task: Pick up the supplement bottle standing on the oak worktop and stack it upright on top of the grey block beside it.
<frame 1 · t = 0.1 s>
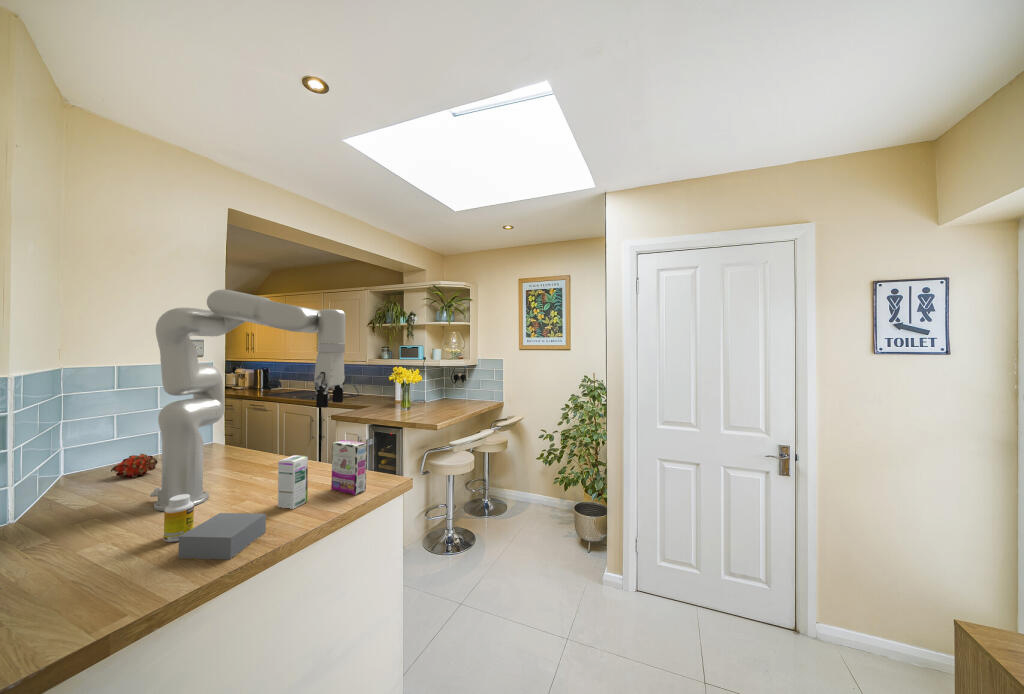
hand: (330, 404, 113), 31 cm above the counter, tool pointing down, fingers open, 9 cm apart
syrup box: (292, 505, 113), on the counter
candy bar box: (348, 491, 125), on the counter
supplement bottle: (178, 538, 93), on the counter
base block: (224, 544, 90), on the counter
dragon fruit: (134, 476, 134), on the counter
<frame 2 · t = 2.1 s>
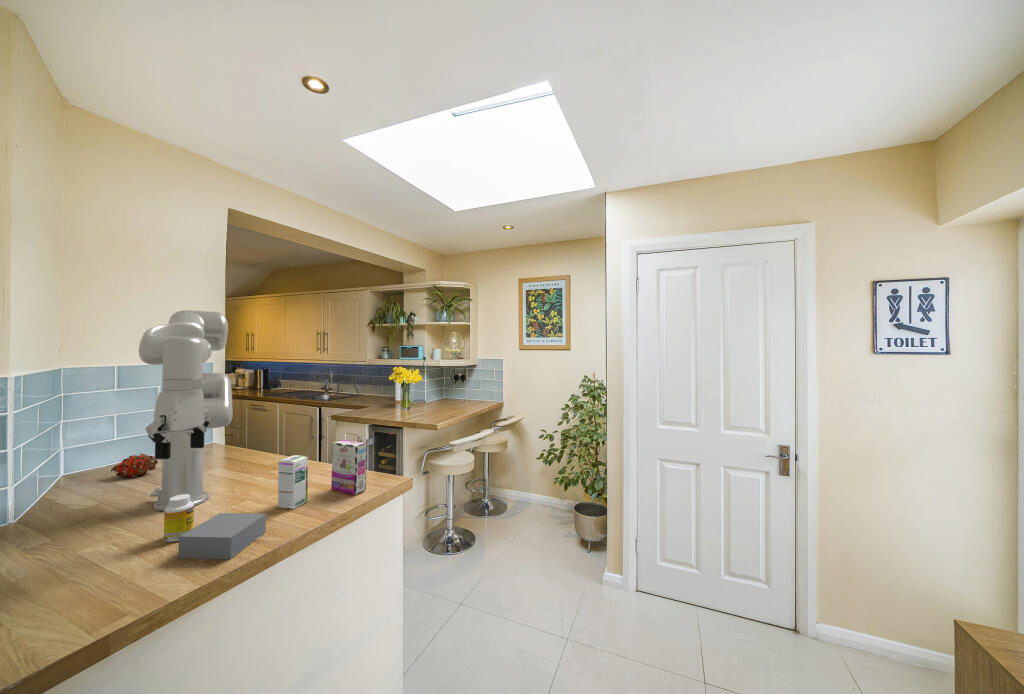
hand: (180, 453, 93), 21 cm above the counter, tool pointing down, fingers open, 9 cm apart
nothing on the counter moved.
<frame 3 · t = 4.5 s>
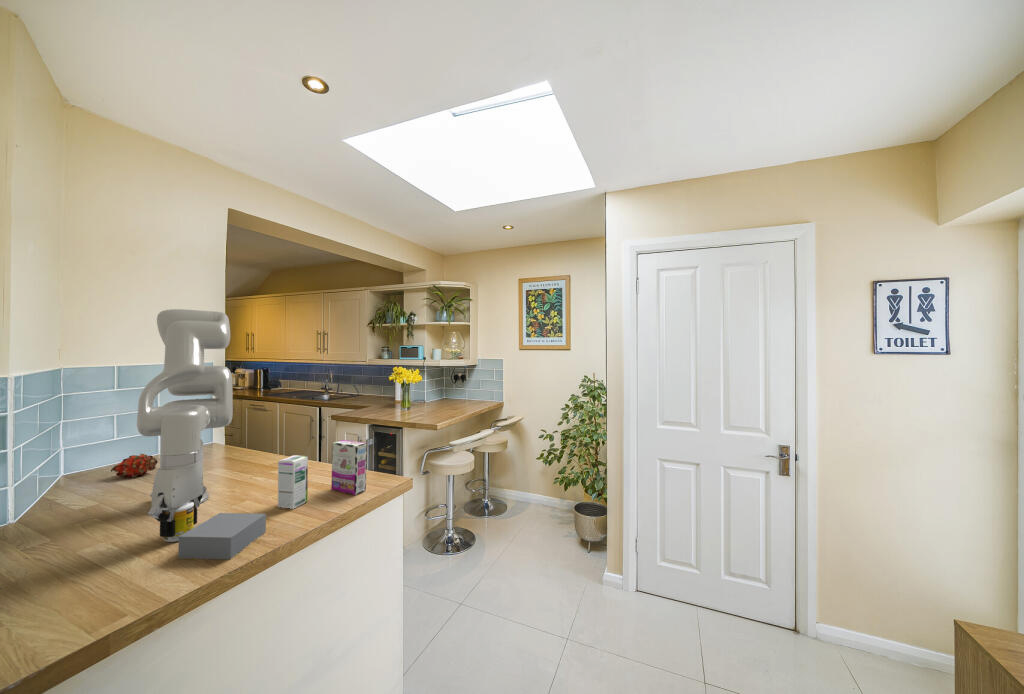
hand: (179, 529, 93), 2 cm above the counter, tool pointing down, fingers closed on supplement bottle, 5 cm apart
supplement bottle: (178, 538, 93), on the counter, touching gripper
everything else where it was.
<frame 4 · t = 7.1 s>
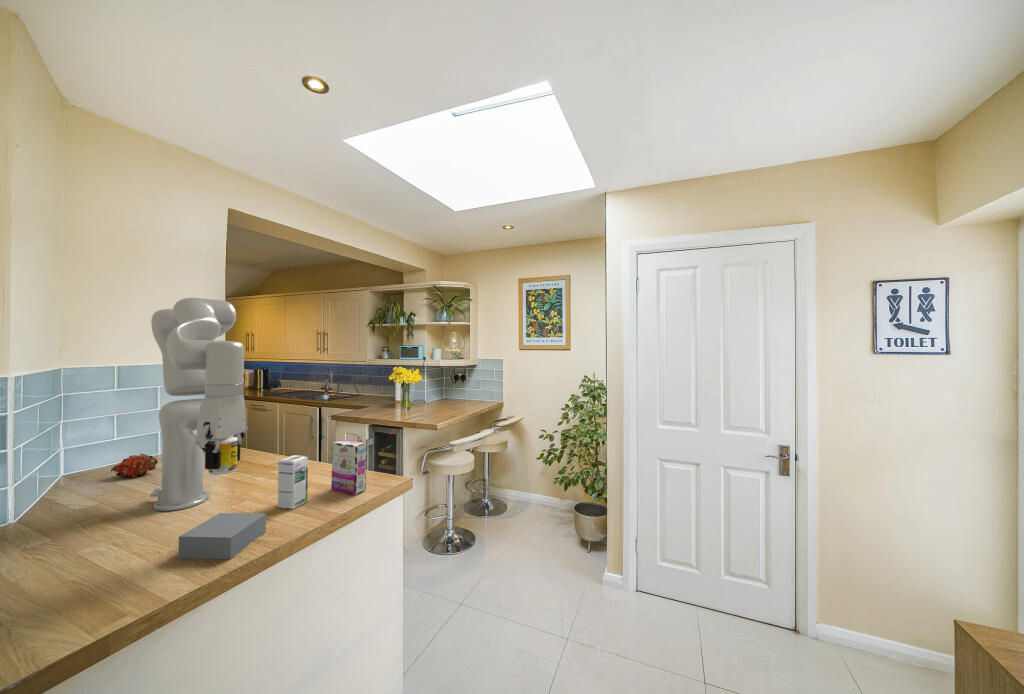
hand: (223, 463, 90), 20 cm above the counter, tool pointing down, fingers closed on supplement bottle, 5 cm apart
supplement bottle: (223, 472, 90), point 18 cm above the counter, touching gripper
everything else where it was.
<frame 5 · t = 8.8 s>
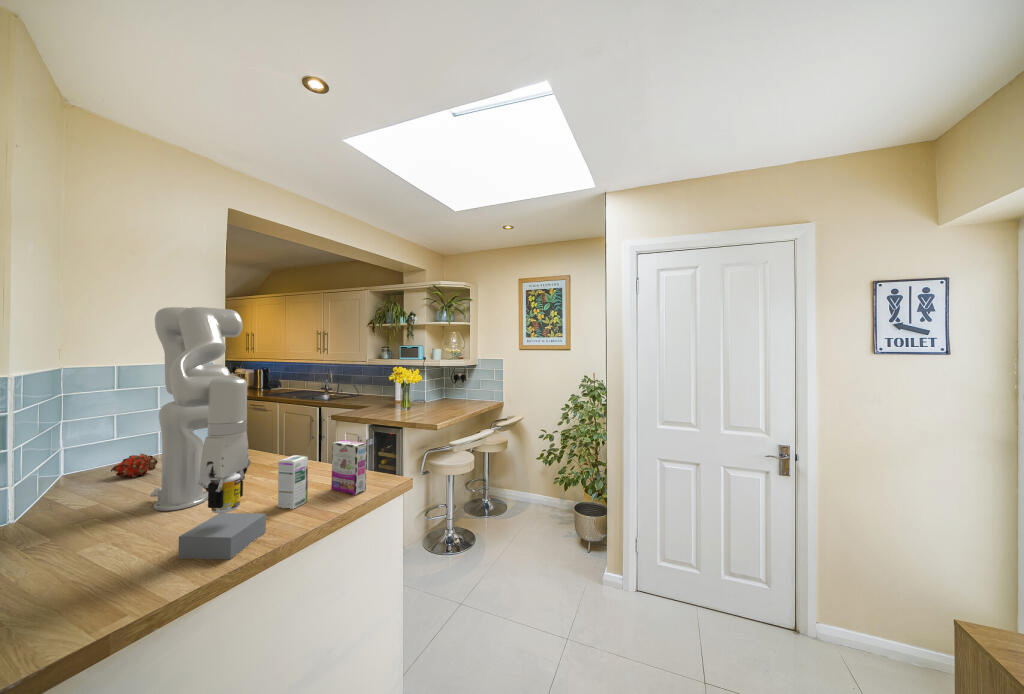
hand: (225, 501, 90), 11 cm above the counter, tool pointing down, fingers closed on supplement bottle, 5 cm apart
supplement bottle: (225, 510, 90), point 9 cm above the counter, touching gripper
everything else where it was.
when the fingers open (8 cm above the counter, at t = 10.1 s): supplement bottle drops 1 cm, resting on base block.
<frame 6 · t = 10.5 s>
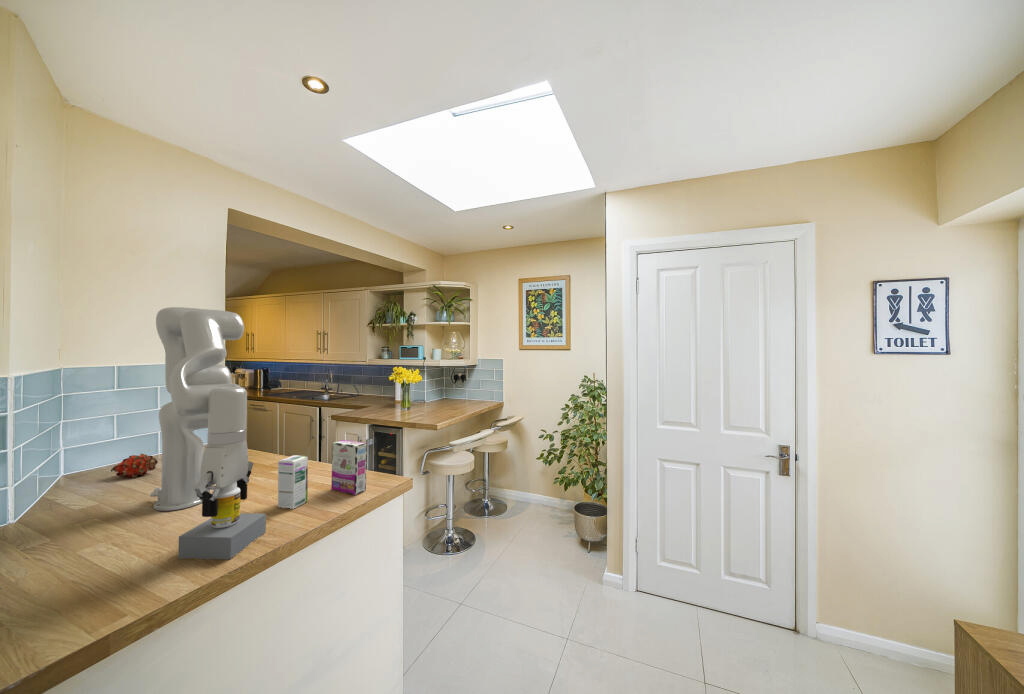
hand: (225, 507, 90), 9 cm above the counter, tool pointing down, fingers open, 9 cm apart
supplement bottle: (225, 524, 90), point 5 cm above the counter, touching base block
everything else where it was.
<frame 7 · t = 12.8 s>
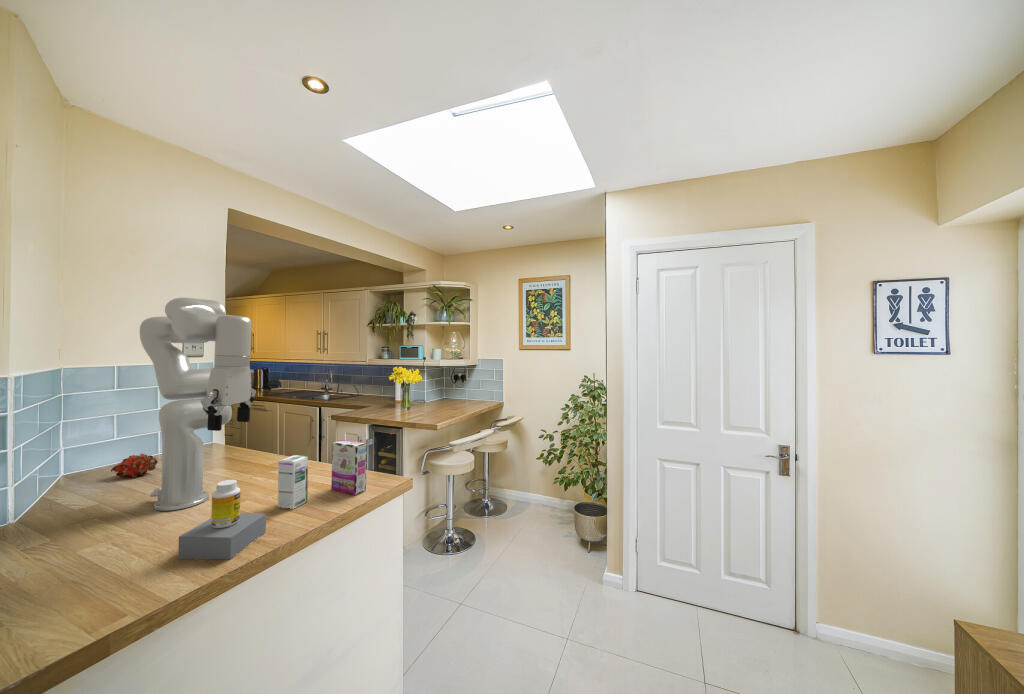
hand: (229, 425, 98), 28 cm above the counter, tool pointing down, fingers open, 9 cm apart
nothing on the counter moved.
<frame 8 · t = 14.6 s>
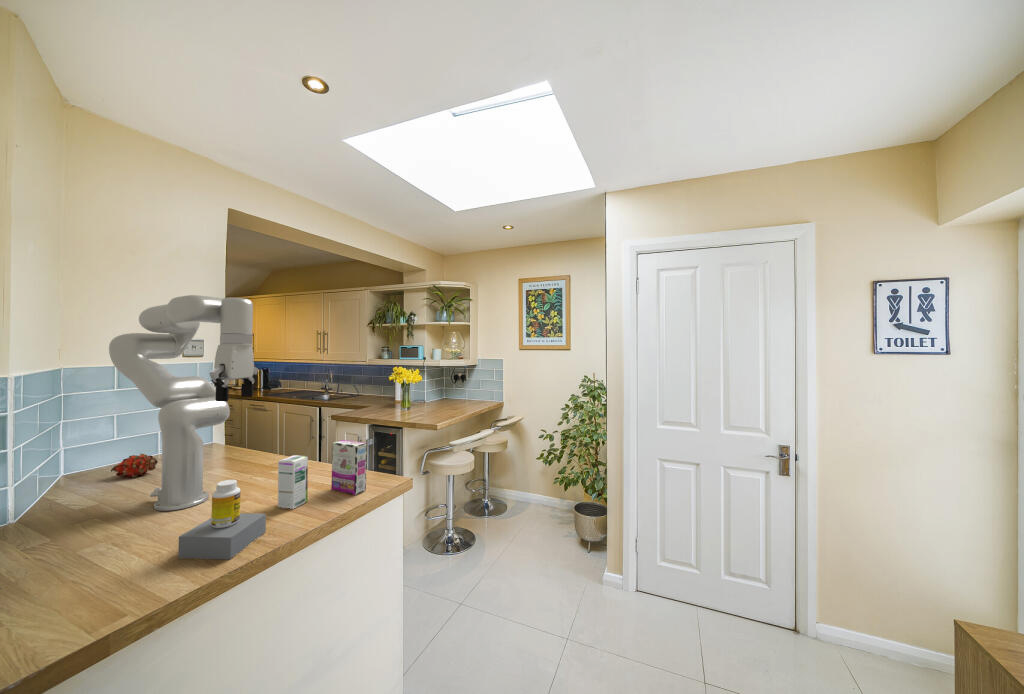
hand: (235, 398, 107), 33 cm above the counter, tool pointing down, fingers open, 9 cm apart
nothing on the counter moved.
at the end: supplement bottle 0.3 cm off-centre on the base block, point 4.8 cm above the base block's base; supplement bottle tilted 0°; the gripper is holding nothing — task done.
